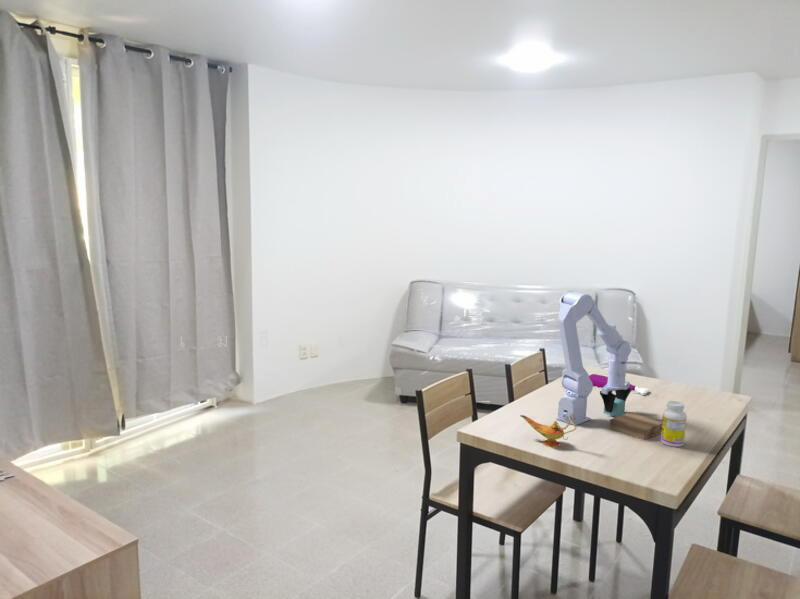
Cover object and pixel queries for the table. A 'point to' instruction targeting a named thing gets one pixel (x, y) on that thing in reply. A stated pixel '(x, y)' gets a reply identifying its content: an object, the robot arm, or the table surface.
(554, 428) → the magic lamp
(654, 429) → the walnut base
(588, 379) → the robot arm
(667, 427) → the supplement bottle
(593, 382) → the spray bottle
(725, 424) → the table surface
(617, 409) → the teal cube
